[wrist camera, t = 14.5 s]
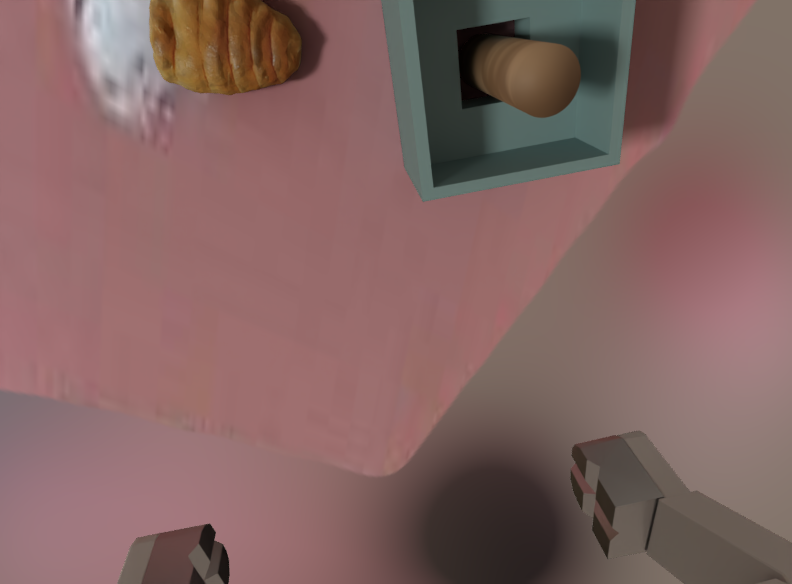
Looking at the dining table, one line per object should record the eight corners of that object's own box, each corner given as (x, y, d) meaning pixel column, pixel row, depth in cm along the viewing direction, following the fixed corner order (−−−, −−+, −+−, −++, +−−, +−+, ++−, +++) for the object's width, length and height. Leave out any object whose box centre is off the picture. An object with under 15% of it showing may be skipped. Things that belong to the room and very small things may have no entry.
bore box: (376, -34, 32) (392, -46, 25) (575, -68, 32) (644, -89, 25) (404, 167, 39) (422, 201, 32) (567, 137, 39) (619, 163, 32)
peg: (455, 38, 34) (514, 49, 24) (504, 29, 35) (582, 37, 24) (459, 91, 36) (515, 123, 26) (505, 82, 36) (578, 111, 26)
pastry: (304, -5, 32) (302, -6, 29) (300, 101, 35) (298, 111, 32) (153, -30, 30) (133, -34, 27) (164, 85, 34) (147, 93, 30)
